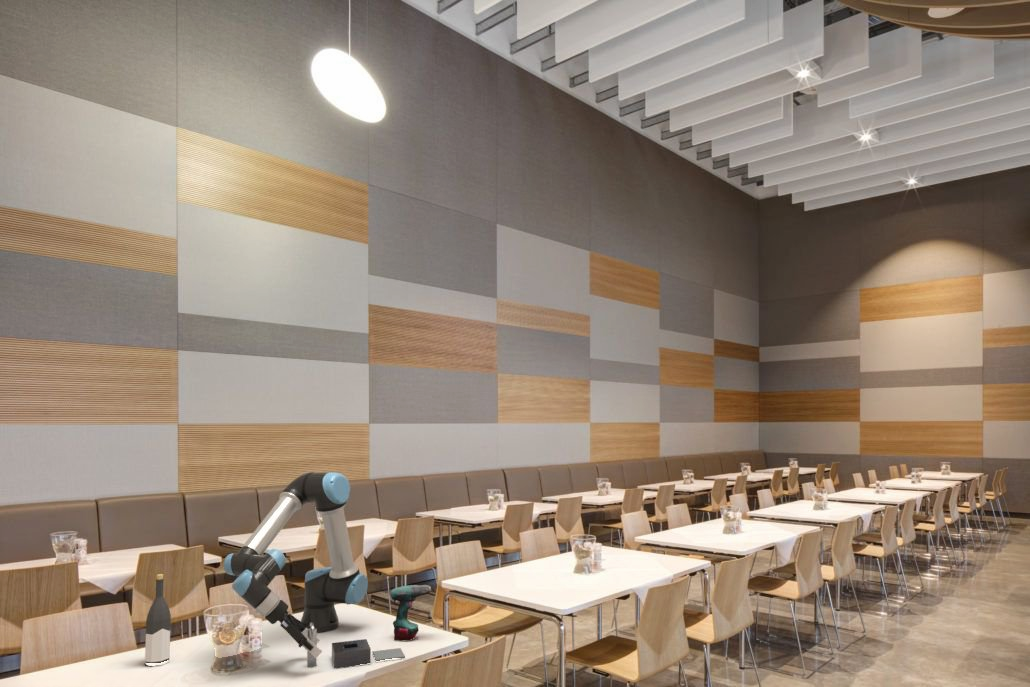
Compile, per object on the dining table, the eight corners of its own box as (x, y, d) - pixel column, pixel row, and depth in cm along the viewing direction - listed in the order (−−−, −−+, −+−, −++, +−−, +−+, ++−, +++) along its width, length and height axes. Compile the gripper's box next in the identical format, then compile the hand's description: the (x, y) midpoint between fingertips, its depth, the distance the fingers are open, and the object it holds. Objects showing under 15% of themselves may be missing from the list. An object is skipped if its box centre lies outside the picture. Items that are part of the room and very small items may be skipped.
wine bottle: (165, 657, 255) (167, 571, 258) (173, 662, 249) (176, 574, 253) (141, 663, 250) (143, 575, 253) (148, 668, 244) (151, 578, 247)
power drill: (428, 642, 265) (428, 587, 268) (387, 641, 269) (387, 586, 271) (434, 637, 272) (434, 583, 275) (394, 635, 276) (394, 582, 278)
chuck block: (331, 657, 251) (331, 643, 251) (366, 653, 255) (366, 639, 255) (334, 668, 239) (334, 653, 240) (370, 664, 243) (370, 648, 244)
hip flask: (306, 663, 246) (307, 622, 247) (315, 662, 247) (316, 621, 248) (307, 670, 238) (308, 628, 240) (317, 669, 239) (317, 627, 241)
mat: (372, 653, 254) (372, 651, 254) (400, 650, 257) (400, 647, 257) (376, 662, 245) (376, 660, 245) (405, 658, 248) (405, 656, 248)
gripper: (264, 608, 252) (308, 647, 255) (263, 626, 228) (311, 669, 231) (280, 591, 254) (323, 630, 257) (280, 607, 230) (328, 650, 233)
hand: (318, 648), depth 244 cm, fingers open, 13 cm apart
